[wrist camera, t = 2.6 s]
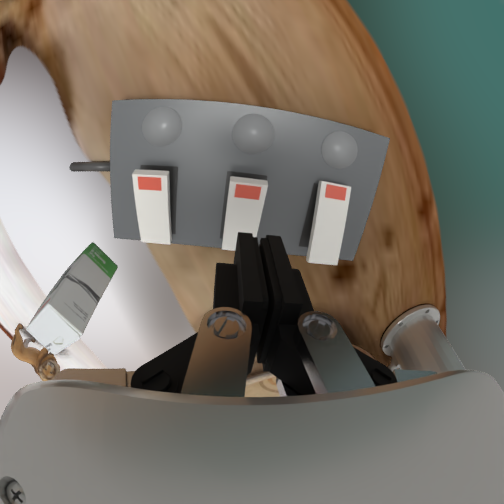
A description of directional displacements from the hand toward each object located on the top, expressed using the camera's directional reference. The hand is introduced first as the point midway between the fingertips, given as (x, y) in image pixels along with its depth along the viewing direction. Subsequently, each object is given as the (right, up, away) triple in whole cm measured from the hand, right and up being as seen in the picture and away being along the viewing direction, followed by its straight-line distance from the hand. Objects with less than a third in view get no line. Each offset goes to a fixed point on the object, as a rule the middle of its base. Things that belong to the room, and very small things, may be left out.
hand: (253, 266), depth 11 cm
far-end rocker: (+7, +3, +14) cm, 16 cm away
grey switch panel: (-4, +9, +15) cm, 18 cm away
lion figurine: (-41, -16, +28) cm, 52 cm away
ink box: (-22, -2, +20) cm, 30 cm away
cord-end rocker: (-9, +5, +12) cm, 16 cm away
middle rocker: (-1, +4, +13) cm, 14 cm away
